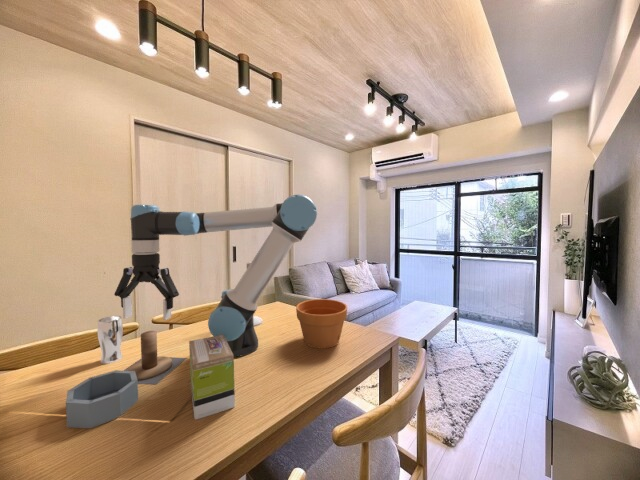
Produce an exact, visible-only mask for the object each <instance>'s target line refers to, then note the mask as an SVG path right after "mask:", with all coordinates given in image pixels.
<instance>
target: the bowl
mask: <svg viewBox="0 0 640 480" xmlns="http://www.w3.org/2000/svg"><path fill="white" fill-rule="evenodd" d="M138 401H139V384H138V380H137V377H136V373H135V371H123V370H112V371H108V372H105V373H102V374H98V375H94V376H90V377H88V378H87V379H84V380H83V381H81V382H80V383H78V384H77V385H75V386H73V387H72V388H70V389H69V390H67V392H66V400H65V411H66V412H65V413H66V428H77V429H79V428H80V429H92V428H95V427H98V426H101V425H103V424H105V423H108V422H112V421H115V420H116V419H120V416H121V417H122V415H124V414H125V412H127V410H129V409H130V408H131V407H133V406H134V405H135V404H136V403H137V402H138Z"/></svg>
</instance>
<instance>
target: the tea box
mask: <svg viewBox="0 0 640 480" xmlns="http://www.w3.org/2000/svg"><path fill="white" fill-rule="evenodd" d="M188 345H189V347H188V348H189V367H190V368H189V369H190V370H189V371H190V373H189V374H190V391H191V399H192V408H193V418H194V420H195V421H197V420H201V419H203V418H207V417H210V416H212V415H215V414H218V413H221V412H224V411H227V410H231V409H233V408H235V407H236V397H235V395H236V394H235V361H234V360H235V359H234V358H235V357H234V356H233V353H232V351H231V349H230V347H229V345H228V343H227V341H226V338H225V336H224V334H222V335H217V336H213V335H212V336H209V337H208V336H207V337H204V338H198V339H194V340H189V341H188Z"/></svg>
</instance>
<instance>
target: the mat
mask: <svg viewBox="0 0 640 480" xmlns="http://www.w3.org/2000/svg"><path fill="white" fill-rule="evenodd" d="M168 357H169V356H168ZM169 358H171V359H172V367H171V368H170V369H169V370H168V371H166V372H165V373H163V374H161V375H159V376H156V377H154V378H150V379H146V380H138V385H153V386H156V385H158V384H159V383H160V382H162V381H163V379H165V378H166V377H167V376H168V375H170V373H172V372H173V371H174V370H175V369H176V368H177V367H179V365H182V363H183V362H185V360H187V359H188V357H172V356H171V357H169ZM138 361H141V358H140V359H138V360H137V361H135V362H134V363H136V362H138ZM127 368H128V367H126V368H125V369H124V370H122V371H126V369H127Z"/></svg>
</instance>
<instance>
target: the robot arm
mask: <svg viewBox="0 0 640 480" xmlns="http://www.w3.org/2000/svg"><path fill="white" fill-rule="evenodd" d="M317 216H318V210H317V206H316V204H315V203H314V201H313V200H312V199H311V198H310V197H308V196H306V195H303V194H293V195H291V196H289V197H287V198H286V199H285V200H284V201H283V202H280V203H275V204H274V205H273V206H266V207H258V208H257V207H256V208H255V207H254V208H243V209H242V208H241V209H231V210H221V211H209V212H198V213H197V212H192V211H190V212H189V211H162V210H161V211H160V207H159V206H158V205H154V204H153V205H152V204H134V205H132V206H131V209H130V225H131V226H130V229H131V241H130V242H131V253H133V254H132V255H131V266H129V267H124V268H123V269H122V270H123V271H122V272H123V273H122V276H121V279H120V280H119V283H118V286H117V288H116V289H115V291H114V296H115V297H119V298H120V305H121V306H120V307H121V308H122V320H124V319H128V318H130V317H132V316H133V307H132V306H133V303H132V299H133V298H132V296H131V294H132V292H133V291H134V289H136V287H137V286H138V285H139V284H140V283H144V282H145V283H151V284H152V285H154V287H156V289H157V291H159V293H161V295H162V296H163V298H164V299H163V300H162V304H163V305H162V307H163V317H162V318H163V321H167V320H169V319H171V318H172V309H173V307H174V298H176V297H179V295H180V293H179V290H178V289H177V286H176V285H175V283H174V281H173V278H172V276H171V275H170V270H169V269H170V268H168V267H166V268H160V260H161V257H160V256H161V255H160V254H161V253H159V252H160V236H166V235H167V236H169V235H170V236H184V237H185V236H195V235H198V234H204V233H205V234H206V233H216V232H227V231H228V232H229V231H236V230H237V231H238V230H249V229H258V228H259V229H260V228H261V229H262V228H271V227H272V230H271V231H270V233H269V235H268V236H267V238H266V239H265V240H264V243H263V244H262V245H261V247H260V248H259V249H258V251H257V253H256V255H255V257H253V259H252V260H251V262H250V263H251V264H250V265H249V267H248V268H247V267H246V270H245V272H244V273H243V275H242V276H241V278H240V279H239V281H238V282H237V284H236V285H235V286H234V288H233V289H232V288H231V289H226V290H225V289H224V290H223V291H222V292H221V296H220V297H221V300H220V302H219V303H218V304H217V306H216V307H215V309H213V311H212V312H210V315H209V317H208V321H207V327H208V329H209V333H210V334H211V335H212V336H217V335H222V334H224V336H225V338H226V341H227V343H228V345H229V347H230V349H231V351H232V353H233V356H234V358H237V357H243V356H246V355H250V354H252V353H253V352H255V351H257V349H259V338H258V335H257V333H256V329H255V326H254V323H253V316H254V314H255V313H256V312H257V309H258V304H257V302H258V300H259V298H260V297H261V295H262V294H263V292H264V290H265V289H266V287H267V286H268V284H269V283H270V282H271V280H272V278H273V276H274V275H275V273H276V272H277V271H278V269H279V267H280V266H281V264H282V263H283V261H284V260H285V258H286V257H287V256H288V253H289V251H290V250H291V249H292V247H293V246H294V244H295V243H297V242H298V243H299V242H301V241H302V240H303V239H304V237H305V235H306V234H307V232H308V231H309V230H310V228H311V227H312V226H313V225H314V224H315V222H316V220H317ZM132 266H133V267H132ZM132 275H134V276H133V277H132ZM160 276H161V277H160Z"/></svg>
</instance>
